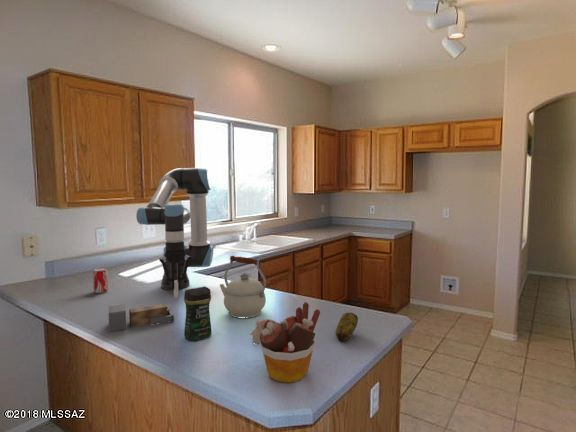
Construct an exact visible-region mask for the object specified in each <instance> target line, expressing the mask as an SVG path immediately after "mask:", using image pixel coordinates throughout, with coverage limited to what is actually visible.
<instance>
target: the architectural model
mask: <svg viewBox="0 0 576 432" xmlns="http://www.w3.org/2000/svg"><path fill="white" fill-rule="evenodd" d="M249 336H252V344H253V343H255V344H258V343H260V334H259V331H258V329H257V326H256V327H255V329H254V330H252V332H250V333H249ZM260 344H261V343H260ZM258 345H259V344H258Z"/></svg>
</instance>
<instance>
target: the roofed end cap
mask: <svg viewBox="0 0 576 432" xmlns="http://www.w3.org/2000/svg"><path fill="white" fill-rule="evenodd" d="M126 313H127V311H126V304H125V303H123V304H113V305H108V325H109V327H108V328H109V329H108V330H109V332H115V331H120V330H121V329H122V330H126V329H127V315H126ZM122 330H121V331H122Z"/></svg>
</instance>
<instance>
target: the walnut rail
mask: <svg viewBox="0 0 576 432" xmlns="http://www.w3.org/2000/svg"><path fill="white" fill-rule="evenodd" d="M167 310H168V305H166V304H165V303H162V304H161V303H160V304H159V303H158V304H154V305H147V306H142V307H136V308H131V309H130V308H129V310H128V311H129V315H128V316H129V325H130V327H131V326H132V327H131V328H133V326H134V327H138V325H139V326H144V325H143V324H145V325H148V324H147V323H150V318H153V317H160V316H167Z"/></svg>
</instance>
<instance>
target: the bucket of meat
mask: <svg viewBox="0 0 576 432" xmlns="http://www.w3.org/2000/svg"><path fill="white" fill-rule="evenodd" d="M309 306H310V305H309V303H308V302H306V301H305V302H303V304H302V307H300V306H298V307H297V308H296V310H295V316H294V315H292V316H287V317H286V318H285V319H283V320H281V321H280V322H278V321H275V320H272V319H259V320H256V322H255V323H256V324H255V325H256V326H257V329H258V331H259V334H260V345H261V350H262V353H263V357H264V363H265V366H266V370H267V374H268V377H270V378H271V379H272V378H273V379H272V380H274V381H276V382H278V383H281V382H286V383H285V384H292V382H293V383H296V382H295V381H297V382H299V380H300V381H301V380H302V379H303V378H304V377H305V376H306V374H308V372H309V368H310V364H311V360H312V355H313V352H314V347H315V343H316V341H315V336H316V333H315V332H314V331H315V328H316V325H317V323H318V320H319V317H320V315H321V311H320V309H315V310H313V311H314V312H313V314H312V316H311V319H309Z"/></svg>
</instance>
